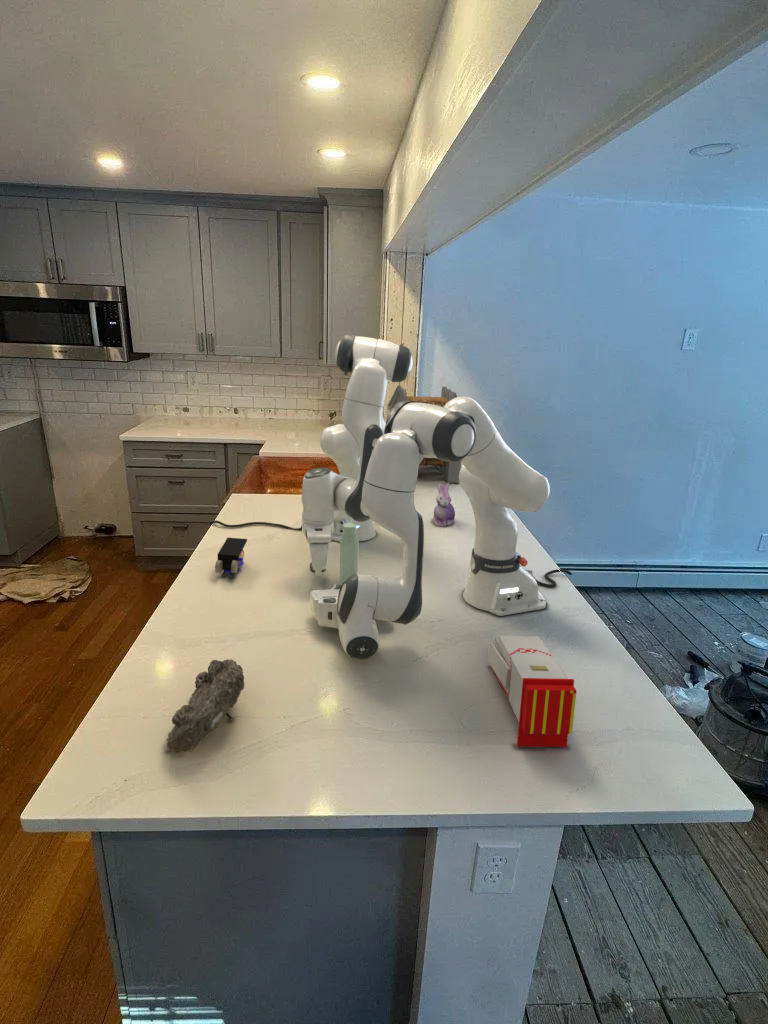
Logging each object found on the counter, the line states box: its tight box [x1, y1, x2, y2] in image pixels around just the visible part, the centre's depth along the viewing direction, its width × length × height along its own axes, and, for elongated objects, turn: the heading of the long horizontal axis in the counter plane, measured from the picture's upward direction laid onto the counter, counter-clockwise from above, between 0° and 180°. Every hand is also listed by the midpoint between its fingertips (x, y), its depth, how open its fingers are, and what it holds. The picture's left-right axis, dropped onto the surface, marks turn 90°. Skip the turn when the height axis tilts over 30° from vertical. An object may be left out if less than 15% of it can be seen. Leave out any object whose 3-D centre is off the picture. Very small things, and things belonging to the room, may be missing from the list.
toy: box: [486, 635, 577, 748], centre depth 115 cm, size 12×13×30 cm
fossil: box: [166, 658, 245, 754], centre depth 106 cm, size 22×10×15 cm
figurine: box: [432, 482, 456, 527], centre depth 210 cm, size 9×10×15 cm
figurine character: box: [214, 537, 248, 578], centre depth 166 cm, size 7×8×15 cm
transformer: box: [385, 384, 462, 484], centre depth 268 cm, size 34×33×41 cm
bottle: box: [338, 523, 360, 588], centre depth 147 cm, size 5×5×23 cm
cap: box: [309, 561, 327, 574], centre depth 163 cm, size 4×5×2 cm
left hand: (317, 570), depth 163 cm, fingers closed on cap, 4 cm apart
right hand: (347, 585), depth 150 cm, fingers closed on bottle, 5 cm apart
